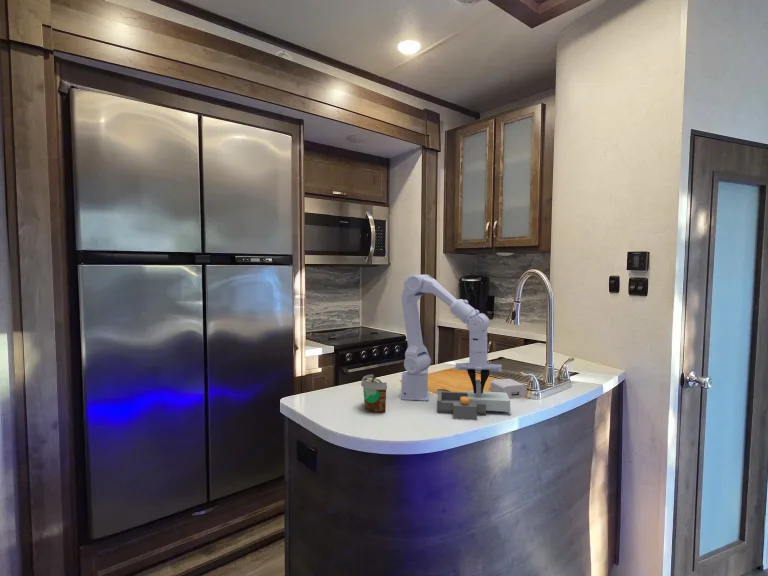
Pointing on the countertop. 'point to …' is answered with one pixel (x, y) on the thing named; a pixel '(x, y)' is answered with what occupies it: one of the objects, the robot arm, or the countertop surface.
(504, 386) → the charger
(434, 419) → the countertop surface
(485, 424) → the countertop surface
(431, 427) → the countertop surface
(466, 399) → the plunger
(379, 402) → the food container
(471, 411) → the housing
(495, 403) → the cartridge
